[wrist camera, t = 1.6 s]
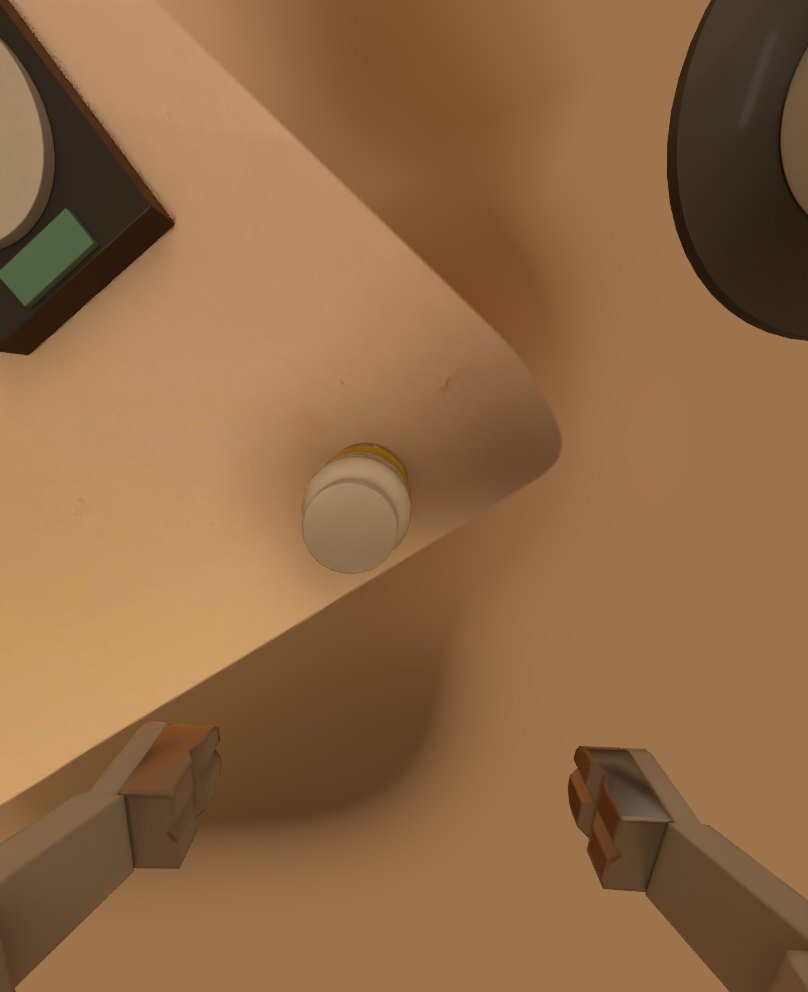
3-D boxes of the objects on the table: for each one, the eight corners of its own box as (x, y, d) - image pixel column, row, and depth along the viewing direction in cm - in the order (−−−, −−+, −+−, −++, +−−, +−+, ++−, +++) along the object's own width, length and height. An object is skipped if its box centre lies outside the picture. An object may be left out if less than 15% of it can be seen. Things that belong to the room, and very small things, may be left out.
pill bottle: (365, 536, 30) (345, 612, 20) (310, 478, 29) (257, 525, 19) (425, 486, 29) (439, 537, 19) (371, 424, 28) (352, 440, 18)
